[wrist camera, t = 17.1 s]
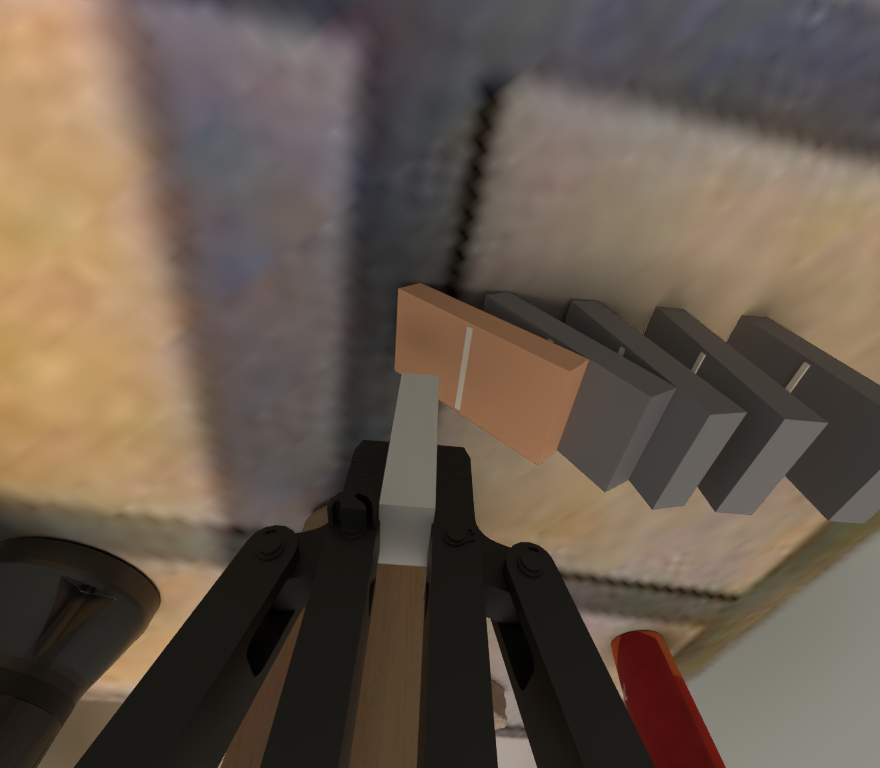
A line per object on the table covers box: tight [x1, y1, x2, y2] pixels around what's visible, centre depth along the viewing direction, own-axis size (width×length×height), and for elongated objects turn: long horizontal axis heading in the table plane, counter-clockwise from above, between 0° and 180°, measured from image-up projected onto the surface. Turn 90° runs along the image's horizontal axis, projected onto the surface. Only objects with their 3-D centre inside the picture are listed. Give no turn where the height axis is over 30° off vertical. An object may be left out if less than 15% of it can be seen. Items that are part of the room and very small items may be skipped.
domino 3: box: [644, 307, 828, 515], centre depth 19 cm, size 2×5×10 cm, turn 174°
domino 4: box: [727, 315, 880, 524], centre depth 20 cm, size 2×5×10 cm, turn 174°
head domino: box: [395, 283, 589, 466], centre depth 20 cm, size 2×5×10 cm
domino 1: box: [483, 292, 677, 492], centre depth 19 cm, size 2×5×10 cm
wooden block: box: [221, 505, 427, 768], centre depth 24 cm, size 10×10×20 cm
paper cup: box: [611, 630, 726, 768], centre depth 38 cm, size 8×8×14 cm
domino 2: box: [564, 300, 747, 510], centre depth 19 cm, size 2×5×10 cm, turn 174°
